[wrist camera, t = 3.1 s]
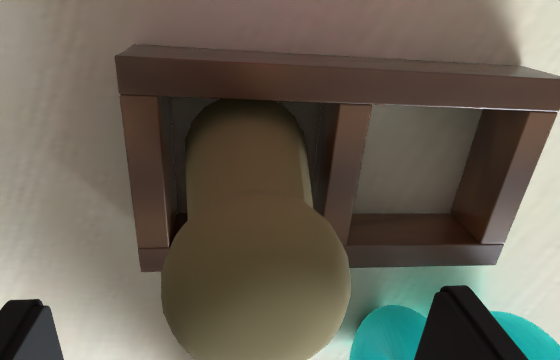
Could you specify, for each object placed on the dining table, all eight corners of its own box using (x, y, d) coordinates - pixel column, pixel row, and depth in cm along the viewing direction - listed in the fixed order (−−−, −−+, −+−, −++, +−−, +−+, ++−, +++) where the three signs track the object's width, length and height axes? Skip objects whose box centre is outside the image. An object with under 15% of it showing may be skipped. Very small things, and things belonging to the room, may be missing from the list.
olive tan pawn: (214, 220, 20) (198, 434, 11) (161, 120, 18) (74, 284, 8) (320, 182, 20) (403, 367, 10) (283, 74, 17) (351, 186, 8)
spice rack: (133, 44, 16) (113, 55, 13) (523, 66, 18) (572, 79, 16) (152, 235, 20) (140, 272, 18) (465, 233, 23) (496, 265, 20)
